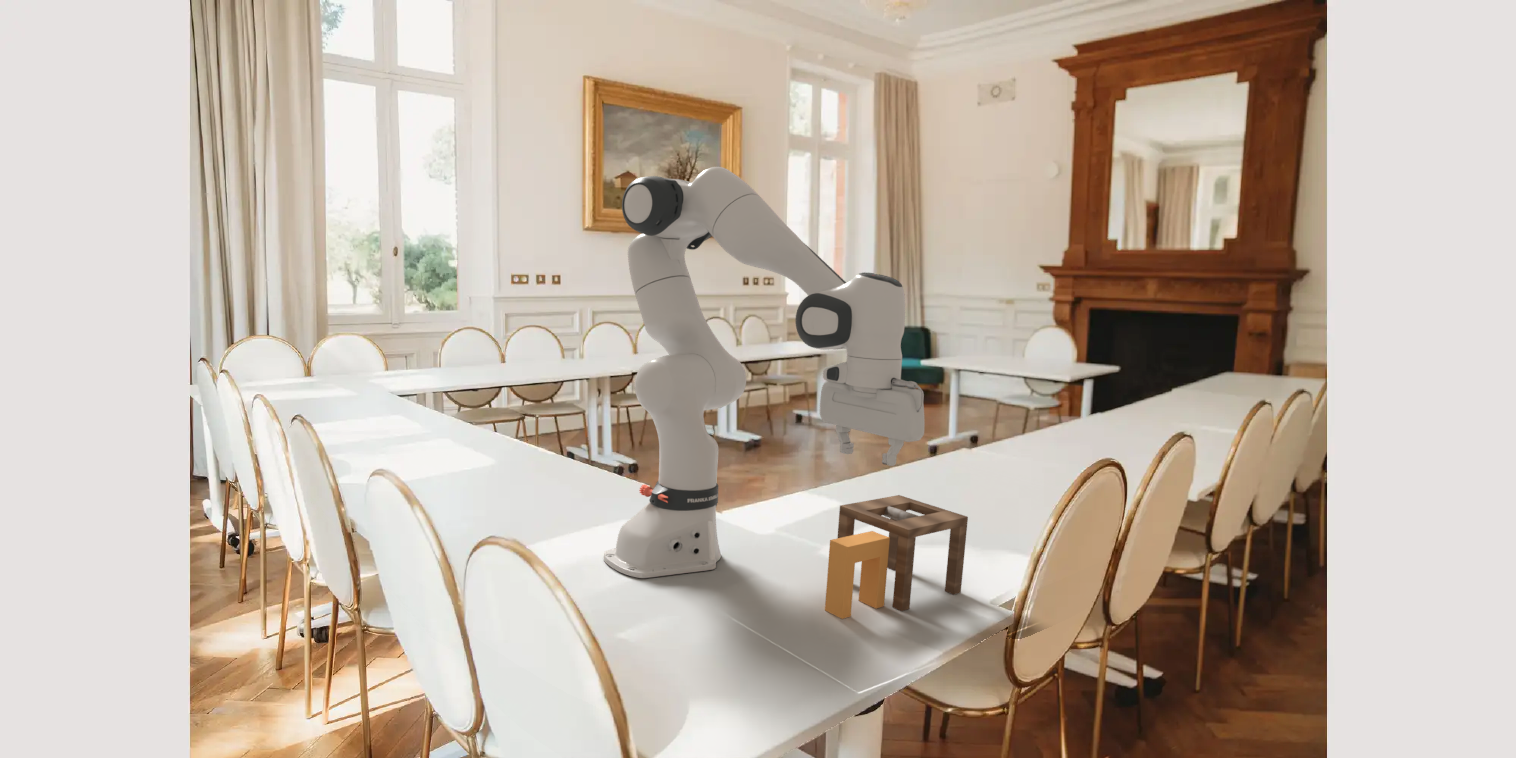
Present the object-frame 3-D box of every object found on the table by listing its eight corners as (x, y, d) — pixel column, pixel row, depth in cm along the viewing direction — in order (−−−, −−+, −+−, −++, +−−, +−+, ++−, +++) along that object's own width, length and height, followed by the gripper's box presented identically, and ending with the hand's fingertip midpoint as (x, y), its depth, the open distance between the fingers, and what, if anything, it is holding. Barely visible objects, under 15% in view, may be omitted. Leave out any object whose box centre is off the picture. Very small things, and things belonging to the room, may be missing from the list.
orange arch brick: (842, 618, 132) (847, 547, 131) (824, 610, 135) (830, 539, 134) (884, 606, 139) (889, 537, 137) (866, 598, 142) (872, 530, 140)
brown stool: (901, 611, 137) (908, 529, 135) (834, 580, 149) (839, 505, 147) (960, 592, 147) (967, 516, 145) (893, 565, 159) (899, 495, 158)
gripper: (937, 382, 126) (929, 470, 128) (842, 367, 142) (837, 445, 144) (910, 384, 122) (903, 474, 124) (816, 368, 138) (810, 448, 140)
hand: (867, 458), depth 134 cm, fingers open, 8 cm apart
